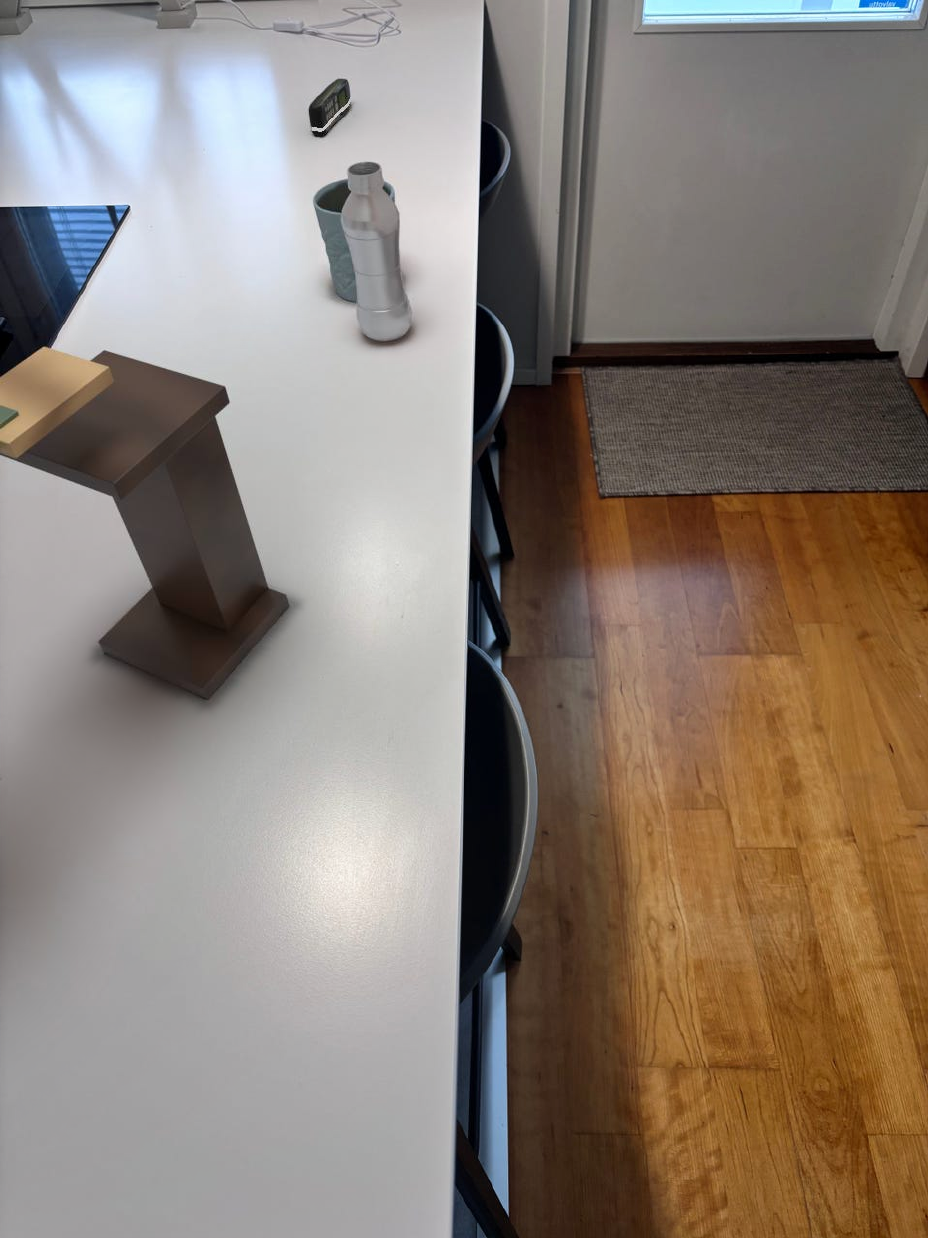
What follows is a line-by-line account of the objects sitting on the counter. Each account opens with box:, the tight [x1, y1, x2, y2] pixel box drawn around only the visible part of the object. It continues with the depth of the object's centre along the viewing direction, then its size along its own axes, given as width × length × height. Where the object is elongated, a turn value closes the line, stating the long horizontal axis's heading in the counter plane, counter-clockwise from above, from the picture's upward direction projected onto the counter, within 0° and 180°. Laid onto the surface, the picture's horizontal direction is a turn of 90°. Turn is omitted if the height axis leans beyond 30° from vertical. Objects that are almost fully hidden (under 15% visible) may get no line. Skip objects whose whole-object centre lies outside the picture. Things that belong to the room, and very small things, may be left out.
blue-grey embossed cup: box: [312, 178, 396, 303], centre depth 121 cm, size 10×10×12 cm
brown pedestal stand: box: [0, 349, 290, 700], centre depth 77 cm, size 12×12×24 cm
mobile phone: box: [308, 78, 351, 137], centre depth 160 cm, size 5×3×15 cm
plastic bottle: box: [341, 161, 413, 342], centre depth 110 cm, size 6×7×20 cm
